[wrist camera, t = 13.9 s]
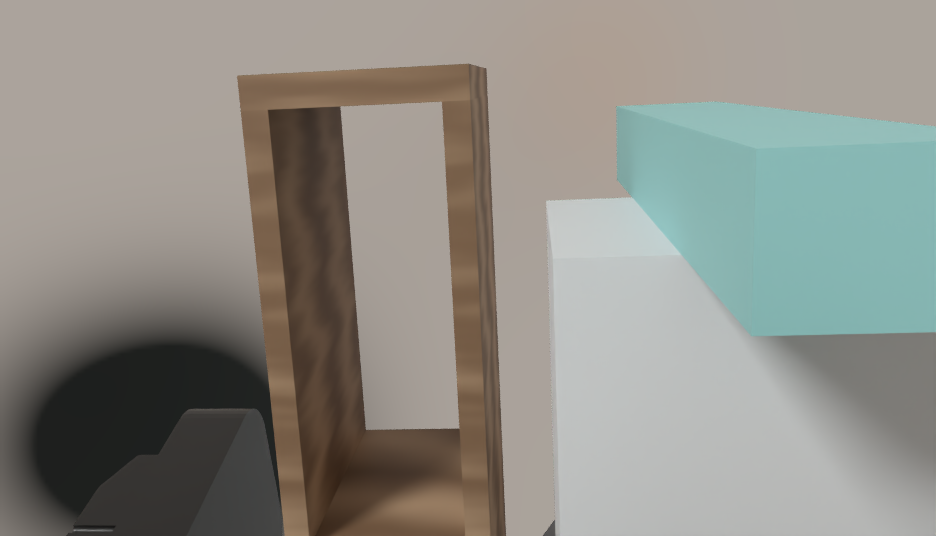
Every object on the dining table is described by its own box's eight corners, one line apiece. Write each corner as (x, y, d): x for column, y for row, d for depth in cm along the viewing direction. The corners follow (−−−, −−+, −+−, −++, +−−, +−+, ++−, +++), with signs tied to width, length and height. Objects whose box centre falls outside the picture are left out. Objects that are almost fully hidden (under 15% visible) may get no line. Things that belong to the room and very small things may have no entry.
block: (1012, 329, 13) (1031, 137, 13) (751, 336, 14) (756, 148, 13) (715, 176, 35) (716, 101, 34) (617, 179, 35) (616, 106, 34)
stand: (502, 802, 43) (468, 63, 35) (312, 798, 44) (237, 75, 36) (509, 629, 57) (486, 68, 49) (364, 628, 58) (317, 77, 50)
